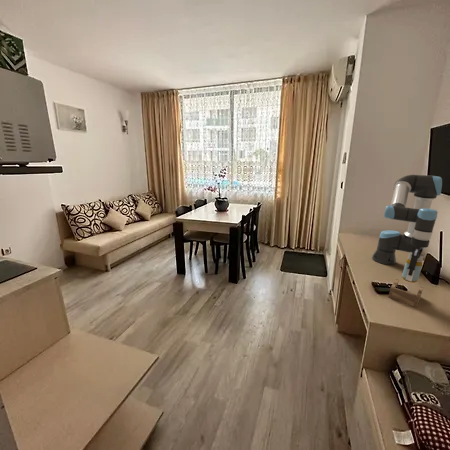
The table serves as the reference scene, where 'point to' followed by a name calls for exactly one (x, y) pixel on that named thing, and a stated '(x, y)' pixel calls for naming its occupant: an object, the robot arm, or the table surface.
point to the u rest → (404, 295)
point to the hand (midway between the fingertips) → (409, 278)
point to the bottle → (417, 268)
